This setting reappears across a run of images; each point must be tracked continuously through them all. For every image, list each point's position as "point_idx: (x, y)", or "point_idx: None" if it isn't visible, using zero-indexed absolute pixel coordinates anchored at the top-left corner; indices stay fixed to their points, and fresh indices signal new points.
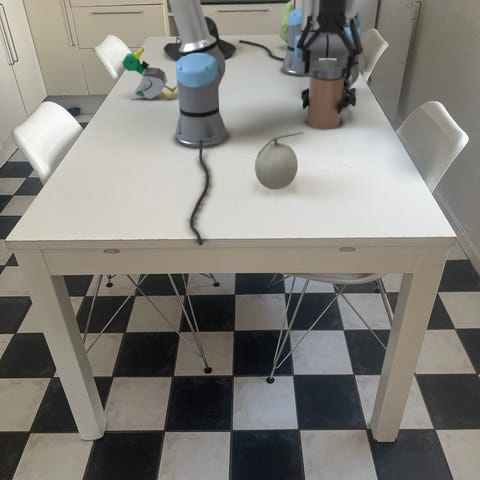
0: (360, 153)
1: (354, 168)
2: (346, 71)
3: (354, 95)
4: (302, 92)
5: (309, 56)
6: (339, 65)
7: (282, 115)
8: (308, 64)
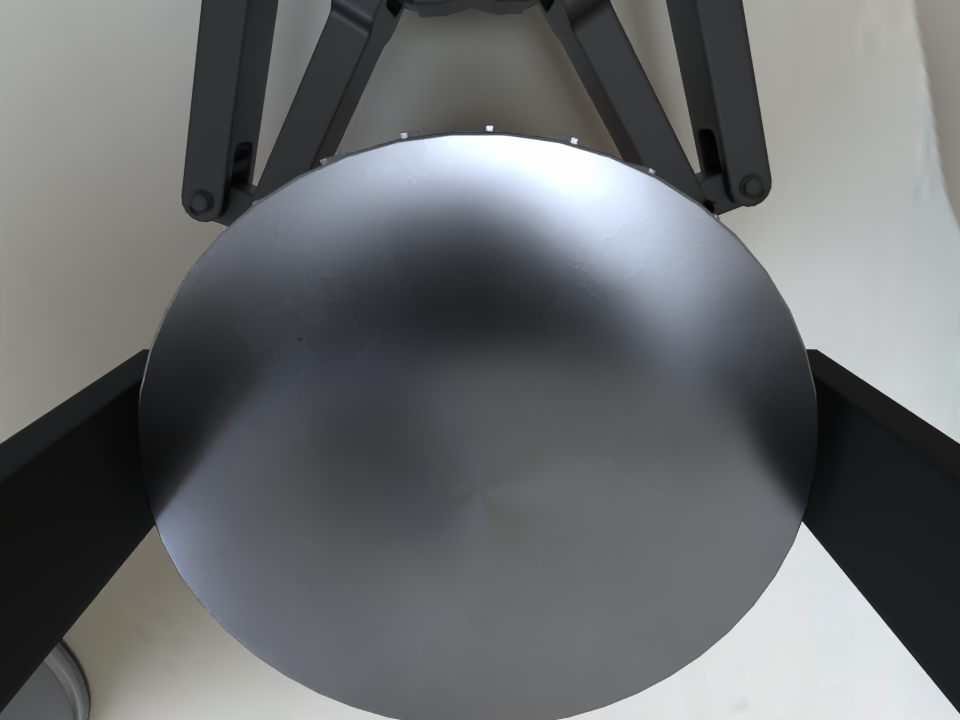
0: (776, 580)
1: (761, 708)
2: (810, 529)
3: (746, 111)
4: (204, 221)
5: (26, 537)
6: (688, 447)
7: (154, 243)
8: (126, 479)
